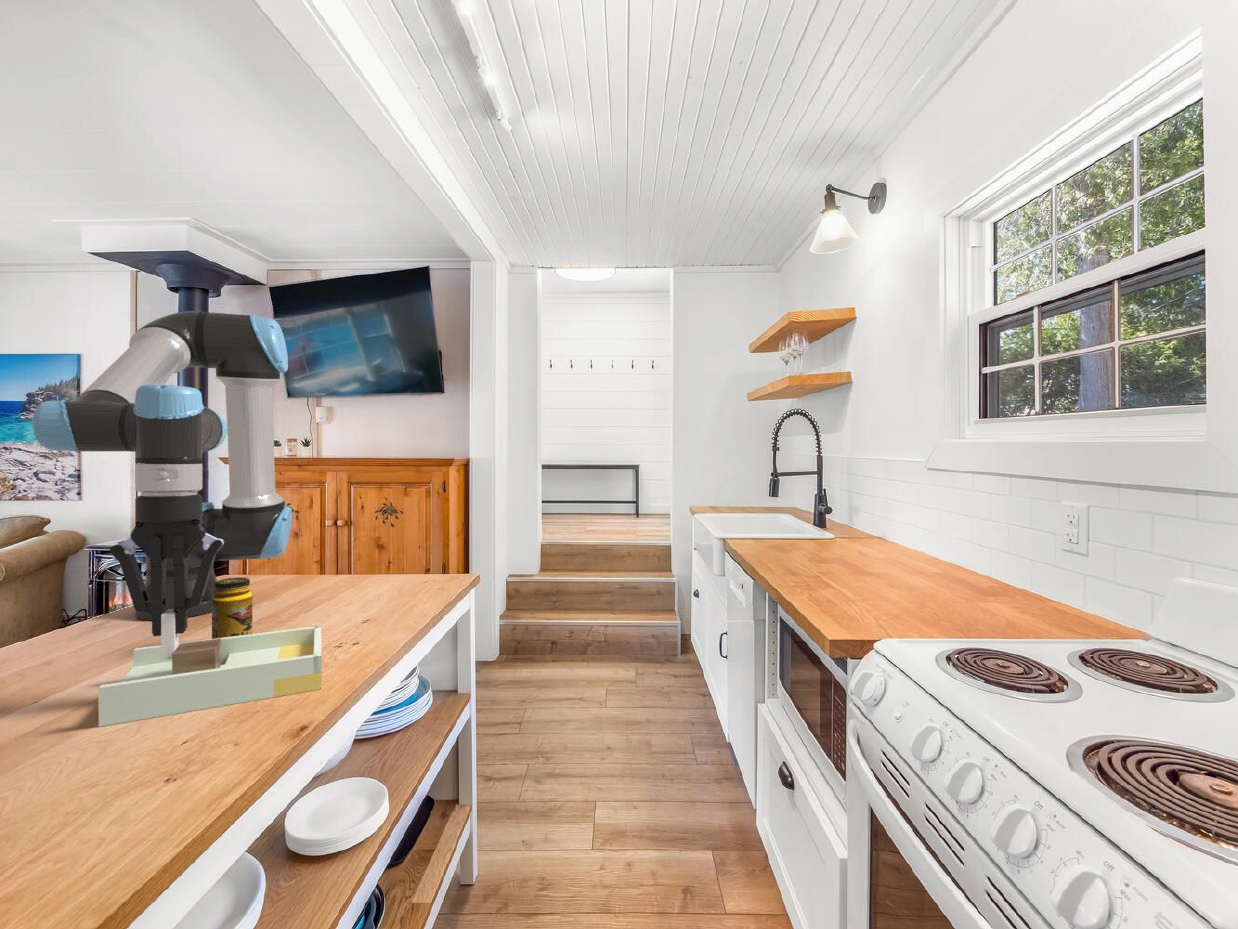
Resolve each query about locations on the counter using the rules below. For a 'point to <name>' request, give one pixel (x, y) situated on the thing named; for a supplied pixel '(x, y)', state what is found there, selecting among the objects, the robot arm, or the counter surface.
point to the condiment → (232, 608)
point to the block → (196, 656)
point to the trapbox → (216, 677)
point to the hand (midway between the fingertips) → (170, 656)
